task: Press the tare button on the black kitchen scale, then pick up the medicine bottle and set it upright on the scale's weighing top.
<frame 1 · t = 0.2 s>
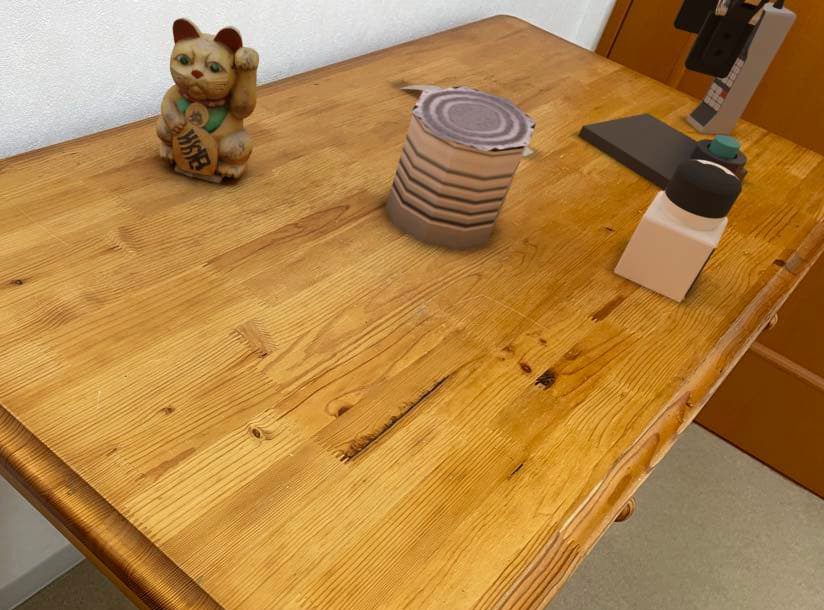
hand: (697, 51, 66), 23 cm above the table, tool pointing down, fingers open, 9 cm apart
fork: (462, 124, 106), on the table
medicine bottle: (652, 278, 87), on the table
can: (437, 224, 87), on the table
scale: (658, 161, 108), on the table
vintage mobile phone: (705, 131, 119), on the table
tare button: (724, 147, 105), point 4 cm above the table, slide at 0.1 cm
decorative figurine: (202, 169, 87), on the table
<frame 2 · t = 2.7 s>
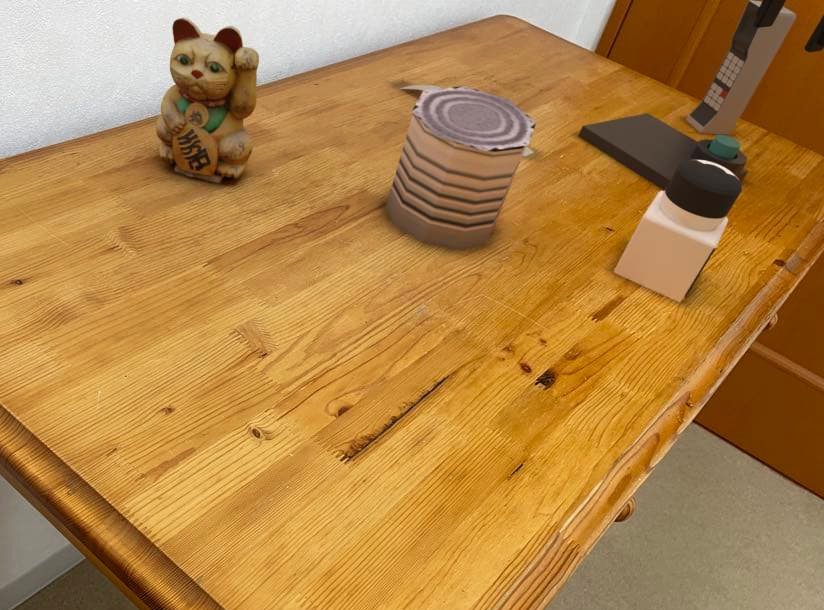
hand: (787, 36, 95), 18 cm above the table, tool pointing down, fingers open, 5 cm apart
nothing on the table moved.
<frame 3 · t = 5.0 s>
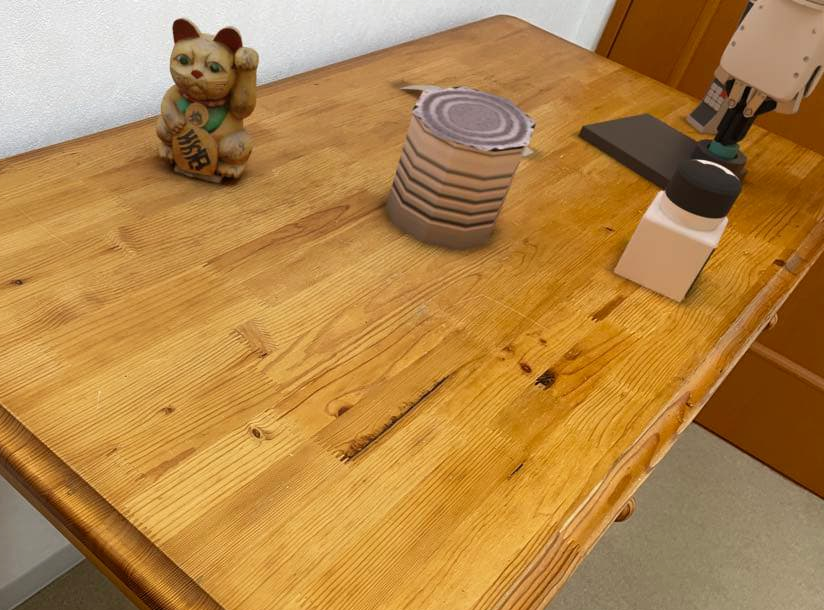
hand: (725, 141, 104), 5 cm above the table, tool pointing down, fingers closed
tare button: (723, 149, 105), point 4 cm above the table, slide at -0.1 cm, touching gripper
everything else where it was.
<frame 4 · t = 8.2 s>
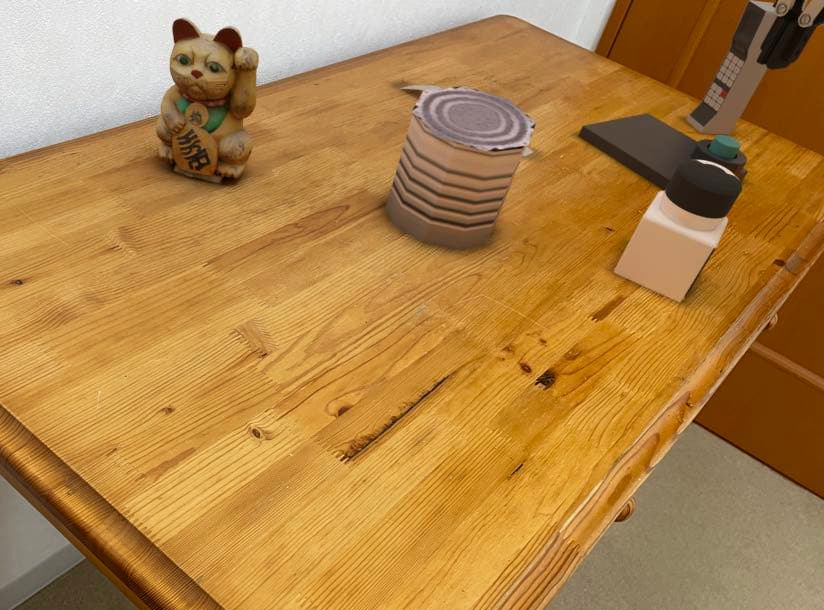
hand: (772, 64, 78), 20 cm above the table, tool pointing down, fingers closed
tare button: (724, 147, 105), point 4 cm above the table, slide at 0.1 cm
everything else where it was.
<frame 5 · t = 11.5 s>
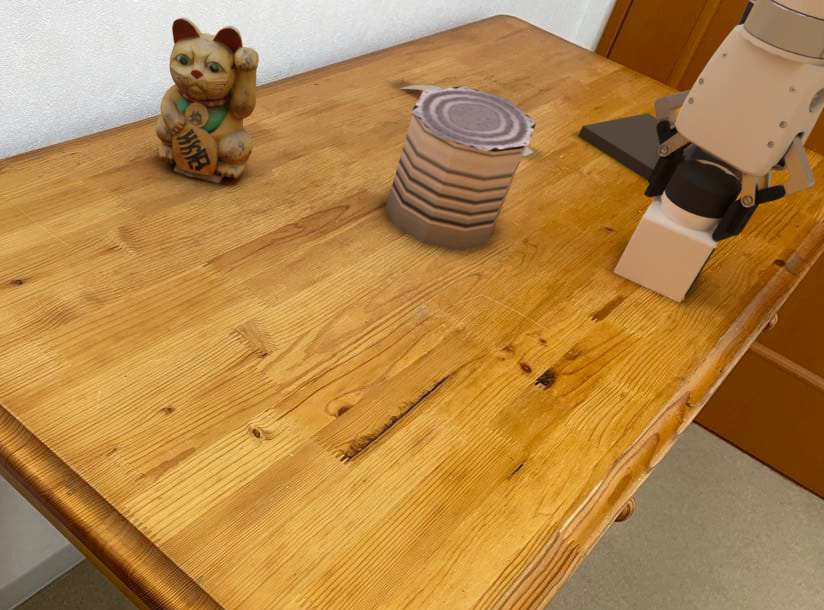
hand: (688, 214, 82), 7 cm above the table, tool pointing down, fingers closed on medicine bottle, 7 cm apart
medicine bottle: (652, 278, 87), on the table, touching gripper
everything else where it was.
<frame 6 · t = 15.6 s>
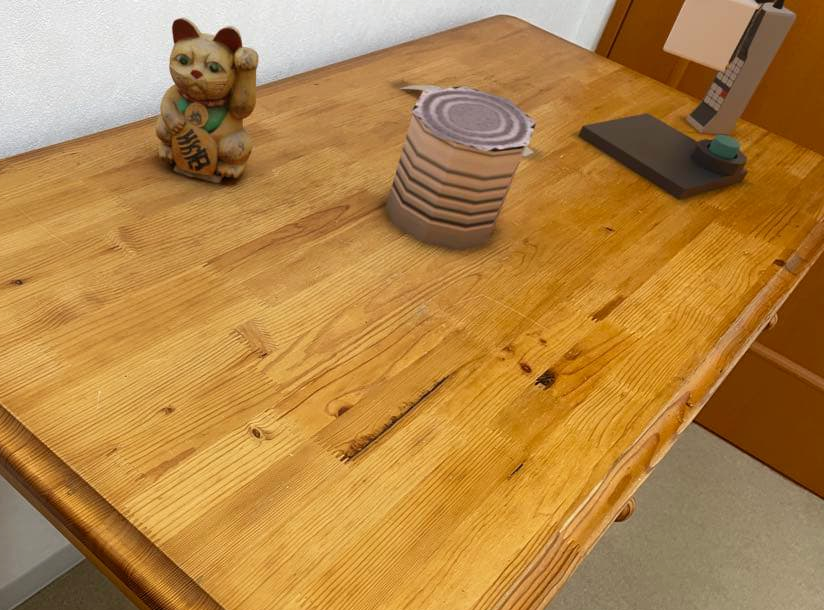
medicine bottle: (698, 56, 96), point 14 cm above the table, touching gripper
everything else where it was.
when the fingers open (9 cm above the table, at t = 20.0 s): medicine bottle stays where it is, resting on scale.
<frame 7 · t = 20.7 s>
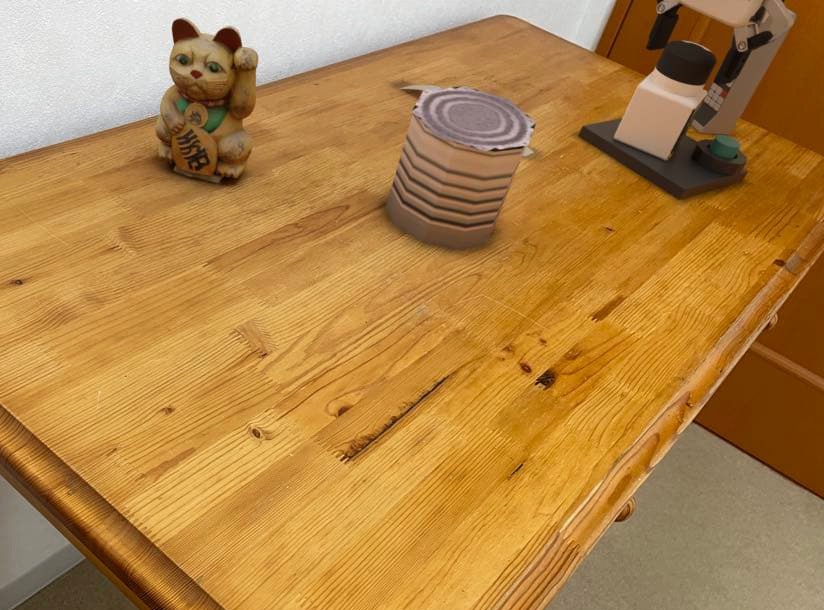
hand: (687, 65, 100), 12 cm above the table, tool pointing down, fingers open, 9 cm apart
medicine bottle: (645, 143, 107), point 2 cm above the table, touching scale
everything else where it was.
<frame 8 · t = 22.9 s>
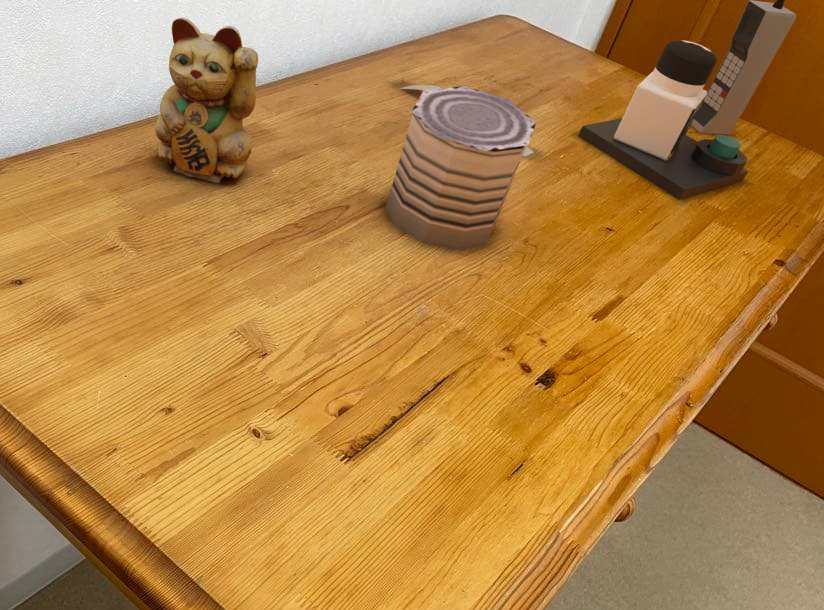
nothing on the table moved.
at the end: tare button pushed in 0.9 cm at the most during the clip, back to where it started at the end; medicine bottle inside the target area on the scale (1.7 cm from its centre), point 1.7 cm above the scale's base; medicine bottle tilted 0° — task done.
